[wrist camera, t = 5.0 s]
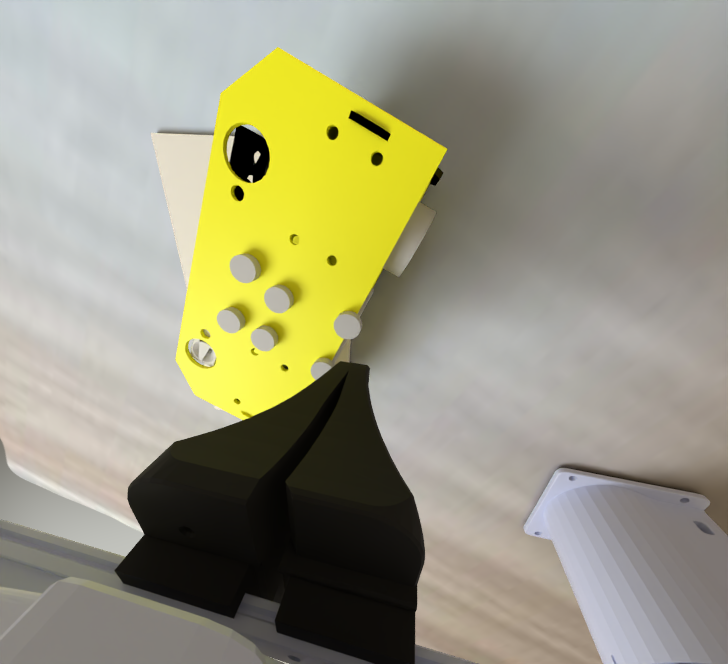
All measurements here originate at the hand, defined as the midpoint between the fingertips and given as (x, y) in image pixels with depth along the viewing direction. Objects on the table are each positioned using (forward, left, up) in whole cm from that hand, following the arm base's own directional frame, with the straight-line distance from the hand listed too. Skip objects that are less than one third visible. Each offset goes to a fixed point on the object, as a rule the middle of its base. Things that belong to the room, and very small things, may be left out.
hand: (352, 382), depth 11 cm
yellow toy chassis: (0, -1, -3) cm, 3 cm away
